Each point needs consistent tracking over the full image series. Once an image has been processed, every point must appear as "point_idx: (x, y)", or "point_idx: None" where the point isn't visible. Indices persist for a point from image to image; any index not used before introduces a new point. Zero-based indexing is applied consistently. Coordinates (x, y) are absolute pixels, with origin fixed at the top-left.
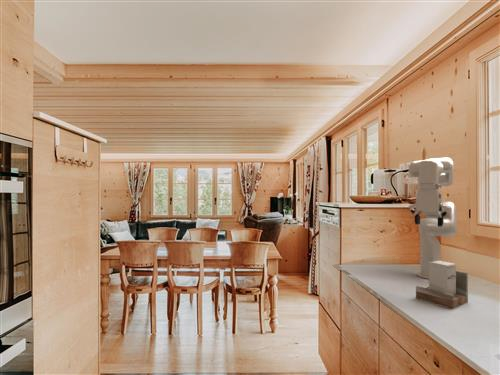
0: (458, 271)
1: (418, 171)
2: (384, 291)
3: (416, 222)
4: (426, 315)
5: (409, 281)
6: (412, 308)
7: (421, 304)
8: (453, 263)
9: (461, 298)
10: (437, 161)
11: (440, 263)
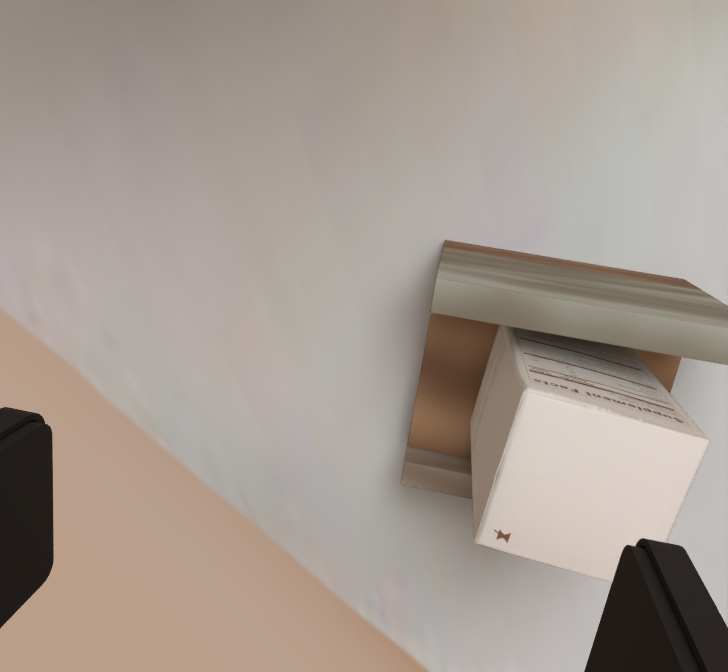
0: (698, 352)
1: None
2: (225, 447)
3: (13, 605)
4: (530, 665)
5: (223, 51)
6: (449, 617)
7: (465, 529)
8: (686, 444)
9: (667, 388)
10: None
11: (578, 548)
